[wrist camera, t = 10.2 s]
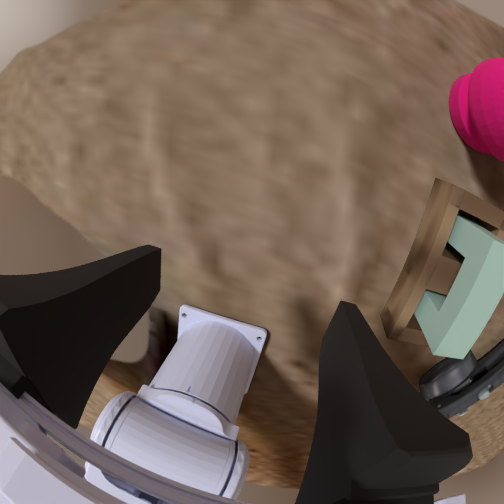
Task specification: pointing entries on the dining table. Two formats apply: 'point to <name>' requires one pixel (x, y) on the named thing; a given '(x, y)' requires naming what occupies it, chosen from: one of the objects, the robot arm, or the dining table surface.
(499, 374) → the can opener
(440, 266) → the brown wooden frame
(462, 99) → the pepper mill
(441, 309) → the mint green foam block
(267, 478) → the dining table surface
